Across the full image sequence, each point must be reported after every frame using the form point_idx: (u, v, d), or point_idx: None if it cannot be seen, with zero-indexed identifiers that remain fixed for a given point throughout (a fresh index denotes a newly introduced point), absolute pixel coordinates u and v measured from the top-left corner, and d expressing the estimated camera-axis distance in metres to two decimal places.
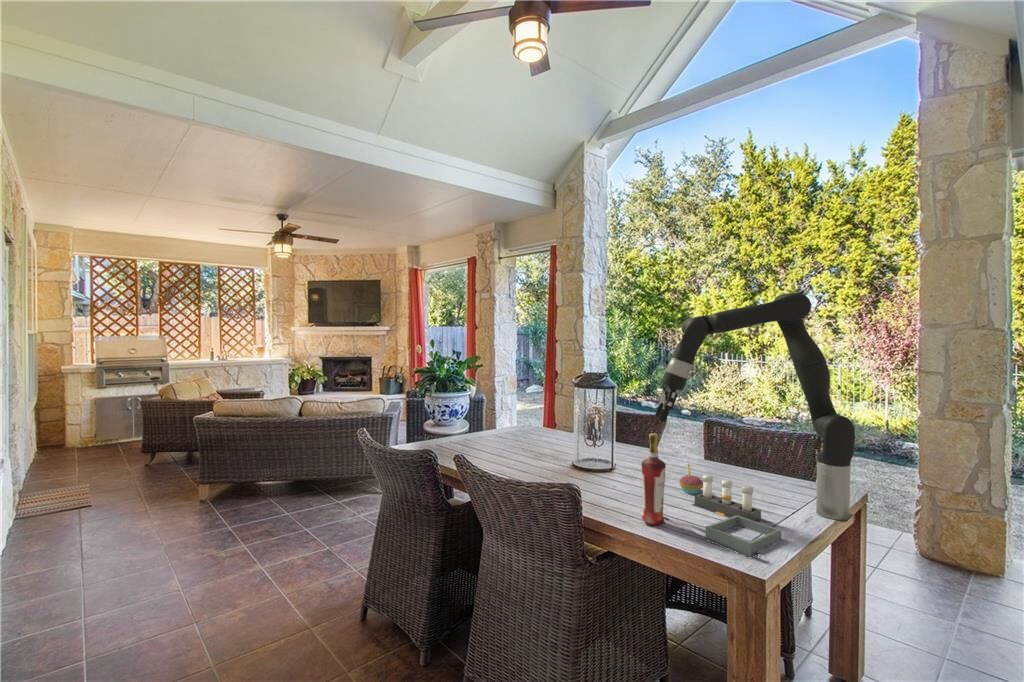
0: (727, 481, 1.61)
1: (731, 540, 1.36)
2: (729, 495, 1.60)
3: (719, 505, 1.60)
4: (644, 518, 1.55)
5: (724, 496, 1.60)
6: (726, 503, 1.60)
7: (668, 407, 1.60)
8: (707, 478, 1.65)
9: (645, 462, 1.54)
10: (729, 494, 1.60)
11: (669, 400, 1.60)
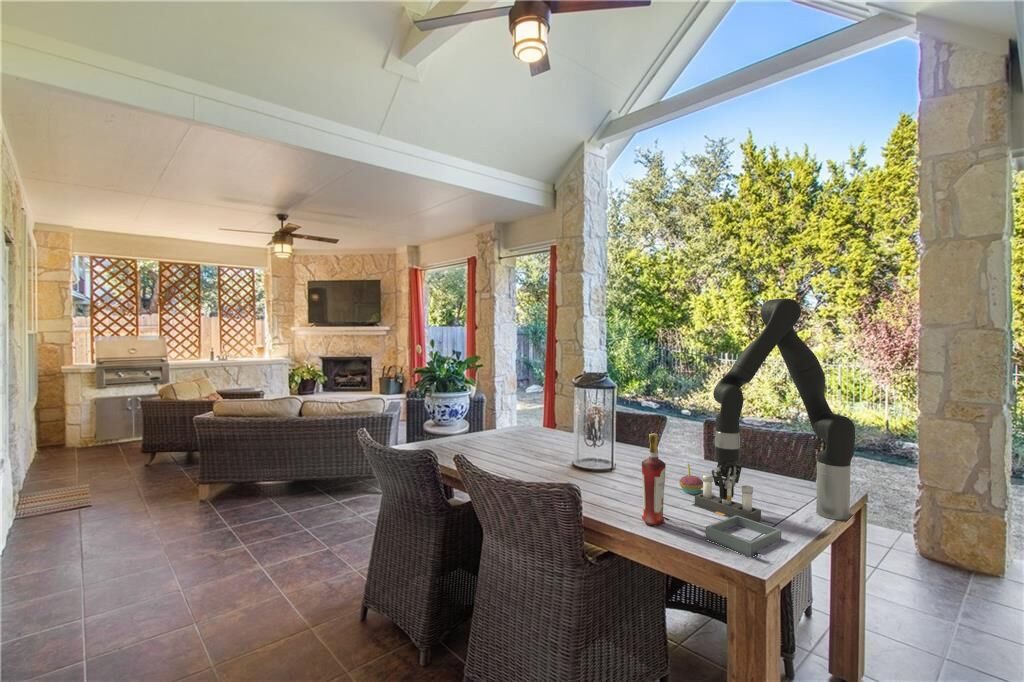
0: None
1: (731, 540, 1.36)
2: (729, 495, 1.60)
3: (719, 505, 1.60)
4: (644, 518, 1.55)
5: None
6: (726, 503, 1.60)
7: (718, 484, 1.58)
8: (707, 478, 1.65)
9: (645, 462, 1.54)
10: (729, 494, 1.60)
11: (715, 479, 1.58)
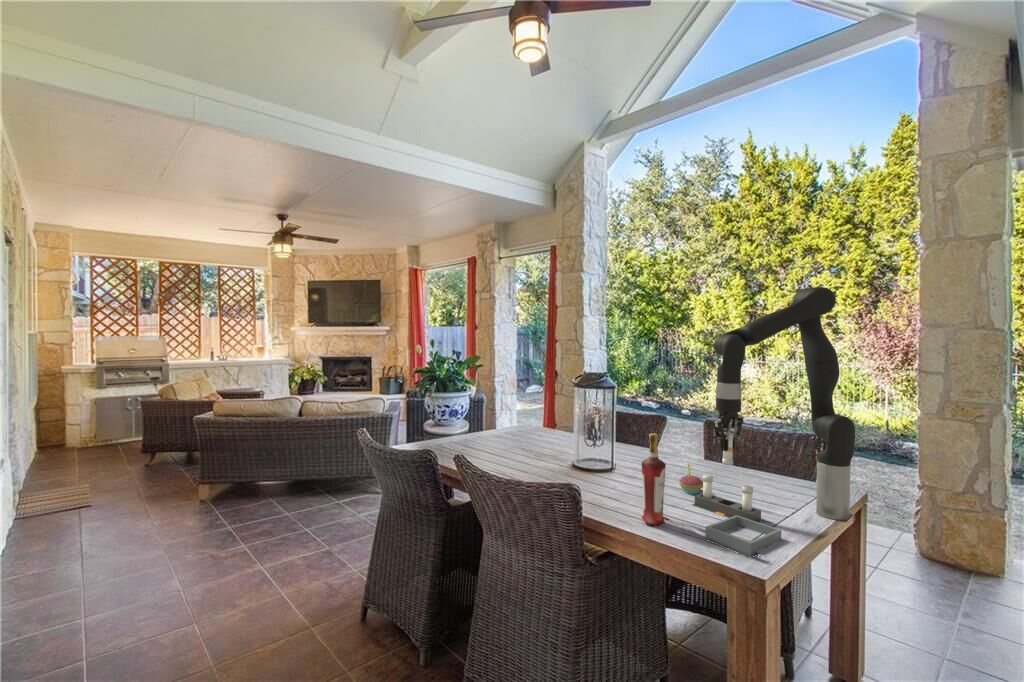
0: None
1: (731, 540, 1.36)
2: (730, 447, 1.58)
3: (719, 505, 1.60)
4: (644, 518, 1.55)
5: None
6: (727, 455, 1.58)
7: (719, 435, 1.57)
8: (707, 478, 1.65)
9: (645, 462, 1.54)
10: (730, 446, 1.58)
11: (716, 430, 1.57)
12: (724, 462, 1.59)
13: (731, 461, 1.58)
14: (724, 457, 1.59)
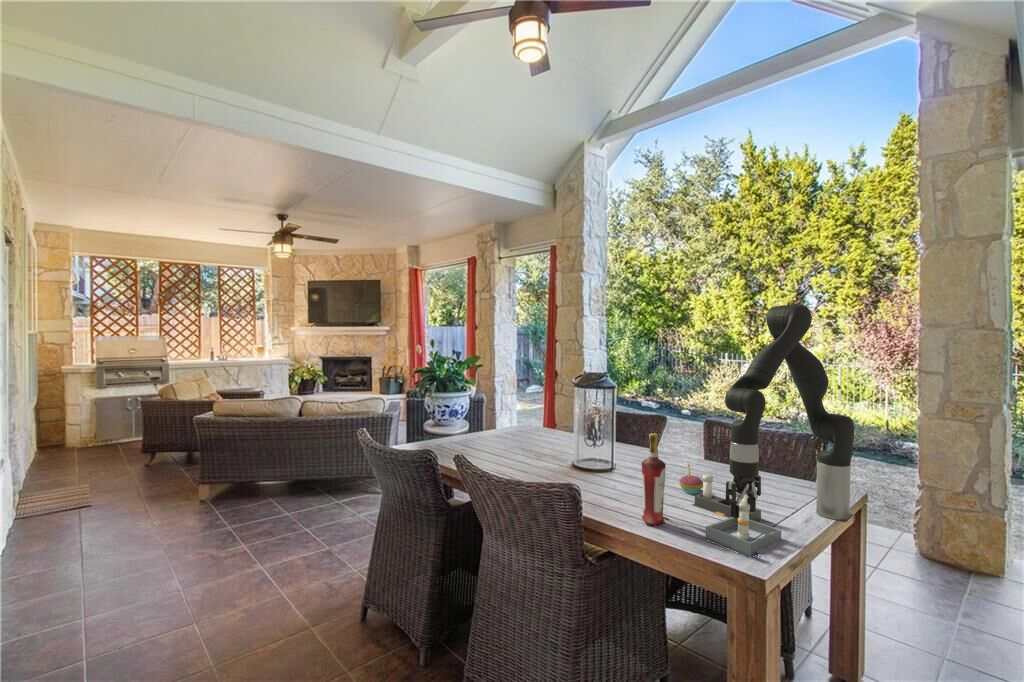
0: (744, 503, 1.42)
1: (731, 540, 1.36)
2: (746, 520, 1.40)
3: (719, 505, 1.60)
4: (644, 518, 1.55)
5: (740, 521, 1.41)
6: (743, 529, 1.40)
7: (729, 501, 1.38)
8: (707, 478, 1.65)
9: (645, 462, 1.54)
10: (746, 519, 1.40)
11: (727, 492, 1.38)
12: (739, 537, 1.41)
13: (747, 536, 1.40)
14: (739, 531, 1.41)
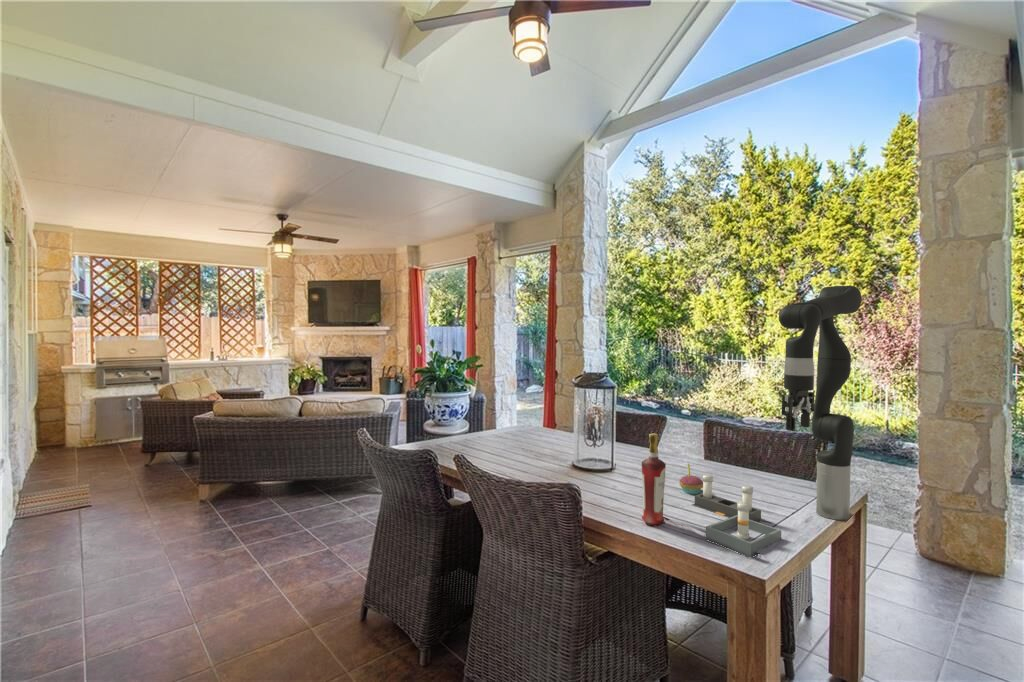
0: (744, 503, 1.42)
1: (731, 540, 1.36)
2: (746, 520, 1.40)
3: (719, 505, 1.60)
4: (644, 518, 1.55)
5: (740, 521, 1.41)
6: (743, 529, 1.41)
7: (785, 413, 1.40)
8: (707, 478, 1.65)
9: (645, 462, 1.54)
10: (746, 519, 1.40)
11: (784, 405, 1.41)
12: (739, 537, 1.41)
13: (747, 536, 1.40)
14: (739, 531, 1.41)
